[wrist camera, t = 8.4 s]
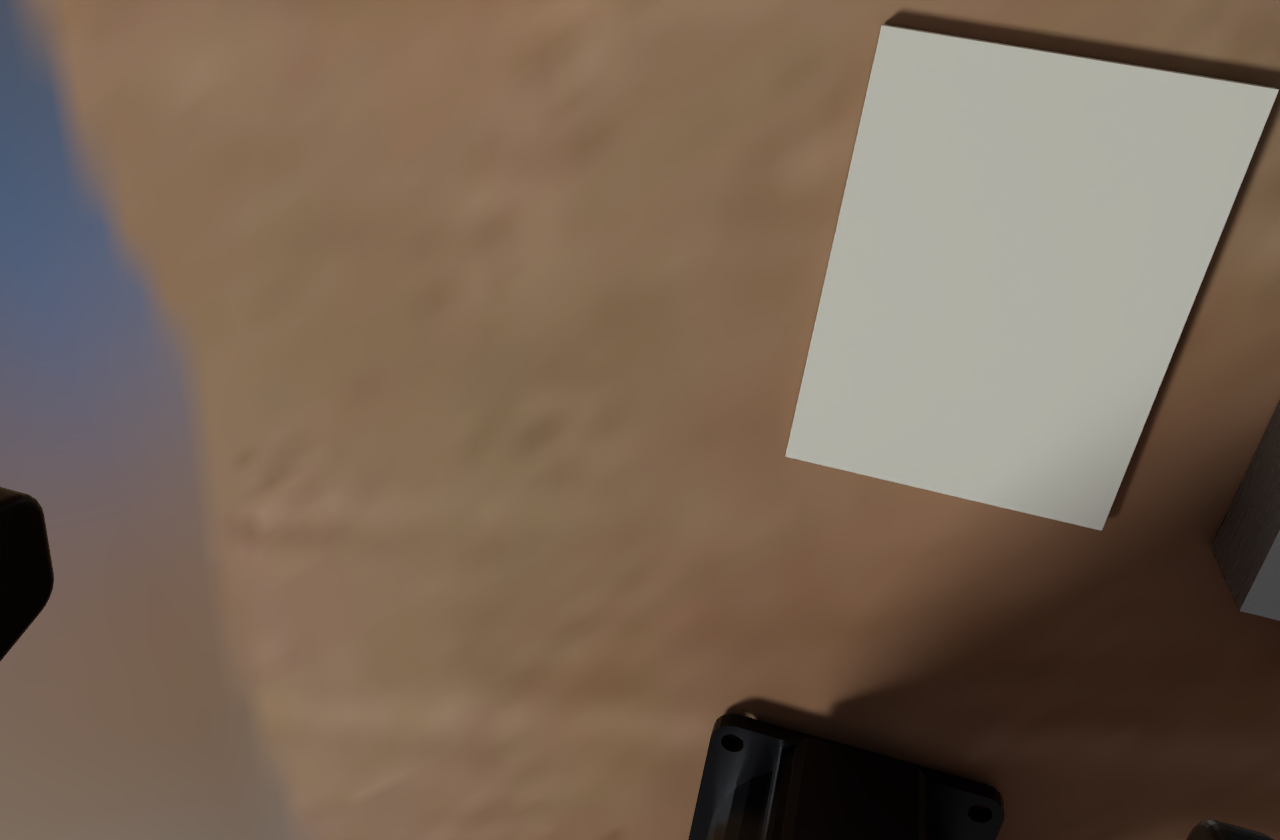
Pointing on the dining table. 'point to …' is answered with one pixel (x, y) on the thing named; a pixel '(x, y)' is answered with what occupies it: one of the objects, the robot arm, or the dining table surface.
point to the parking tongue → (1016, 267)
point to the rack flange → (1255, 532)
